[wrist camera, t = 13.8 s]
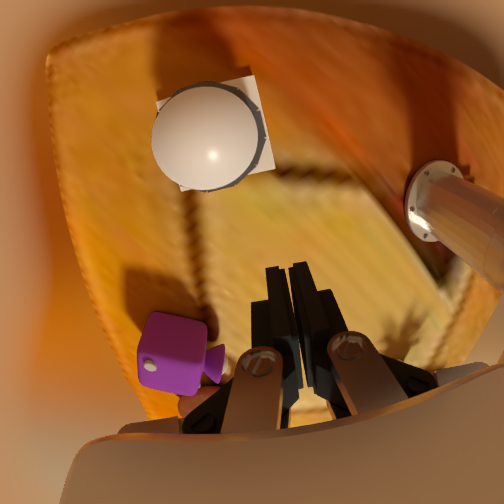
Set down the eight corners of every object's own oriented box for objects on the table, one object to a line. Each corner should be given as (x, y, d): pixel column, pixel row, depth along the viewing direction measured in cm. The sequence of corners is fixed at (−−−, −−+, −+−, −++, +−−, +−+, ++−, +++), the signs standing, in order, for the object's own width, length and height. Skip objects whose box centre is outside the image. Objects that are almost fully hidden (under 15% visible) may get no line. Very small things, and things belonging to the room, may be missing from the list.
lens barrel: (253, 77, 26) (259, 59, 18) (273, 166, 31) (287, 184, 23) (159, 102, 27) (129, 97, 18) (183, 188, 32) (163, 214, 23)
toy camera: (228, 358, 45) (227, 405, 36) (152, 352, 44) (140, 397, 35) (229, 311, 40) (227, 362, 32) (141, 306, 39) (122, 352, 31)
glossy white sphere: (243, 87, 22) (244, 75, 16) (260, 162, 25) (267, 176, 19) (164, 109, 22) (140, 106, 16) (184, 181, 26) (168, 201, 20)
